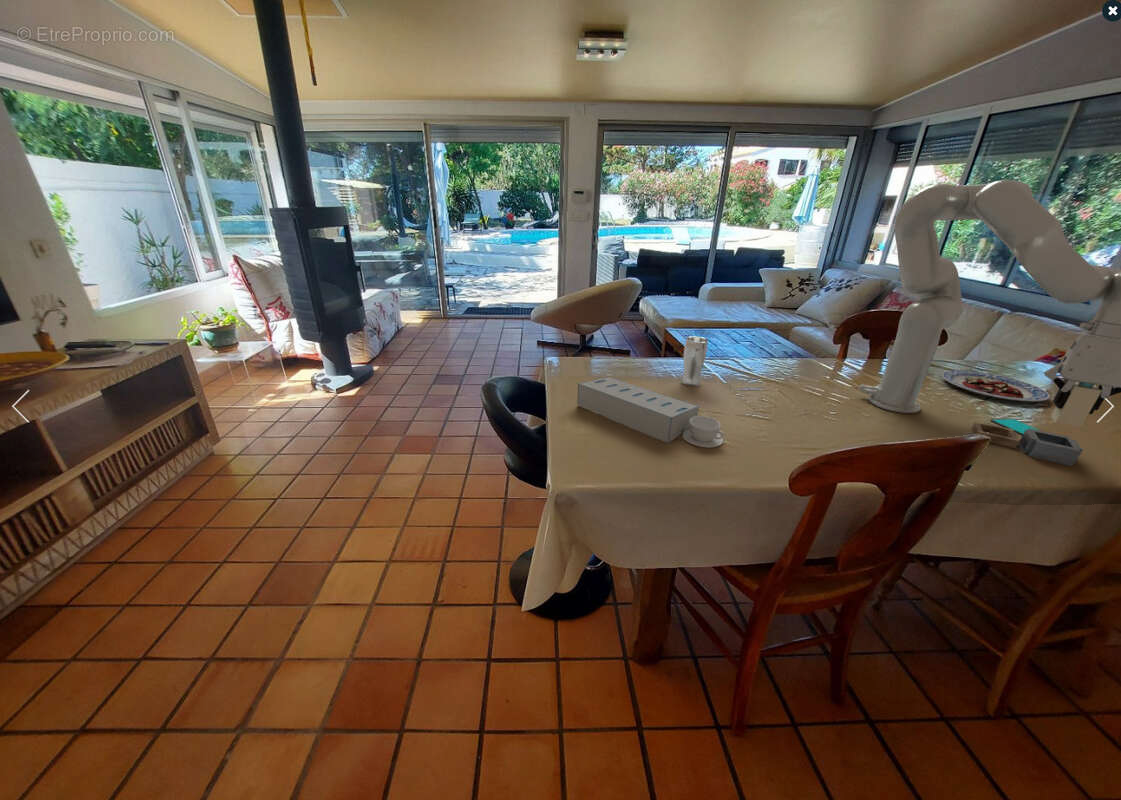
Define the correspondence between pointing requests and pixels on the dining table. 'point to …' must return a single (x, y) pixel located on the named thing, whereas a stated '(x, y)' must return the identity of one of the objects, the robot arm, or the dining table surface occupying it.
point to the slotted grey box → (637, 407)
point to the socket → (1050, 447)
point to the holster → (996, 434)
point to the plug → (1077, 404)
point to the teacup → (703, 432)
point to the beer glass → (694, 360)
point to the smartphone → (1013, 425)
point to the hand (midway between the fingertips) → (1073, 408)
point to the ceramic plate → (995, 386)
